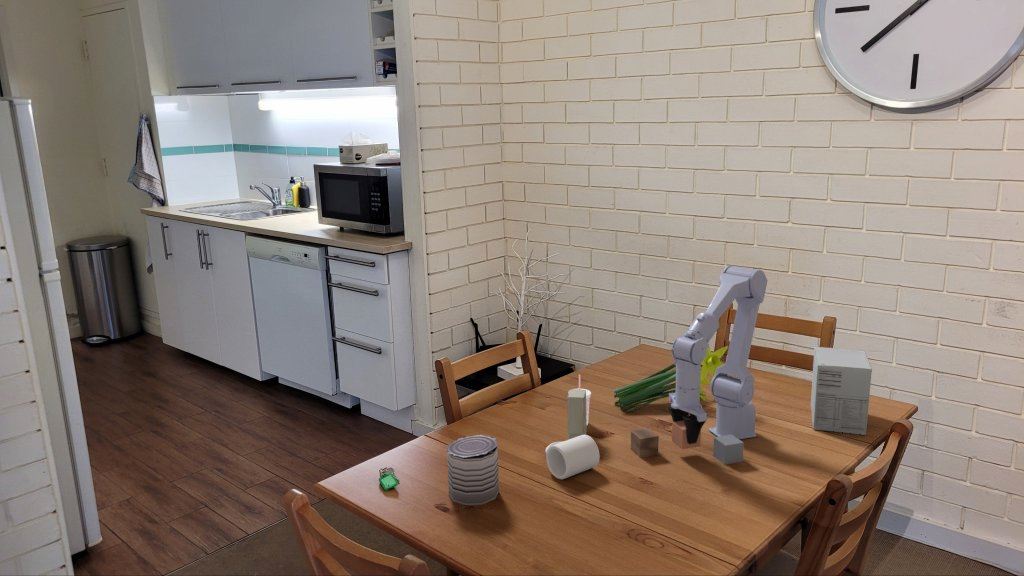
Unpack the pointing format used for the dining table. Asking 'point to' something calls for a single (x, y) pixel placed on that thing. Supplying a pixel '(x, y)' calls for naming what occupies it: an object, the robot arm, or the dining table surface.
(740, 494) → the dining table surface
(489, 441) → the can
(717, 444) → the slate grey block
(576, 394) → the skincare box
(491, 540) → the dining table surface
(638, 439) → the walnut block
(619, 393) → the daffodil flowers
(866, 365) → the supplement box
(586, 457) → the mug
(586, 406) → the beverage cup
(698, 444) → the terracotta block
